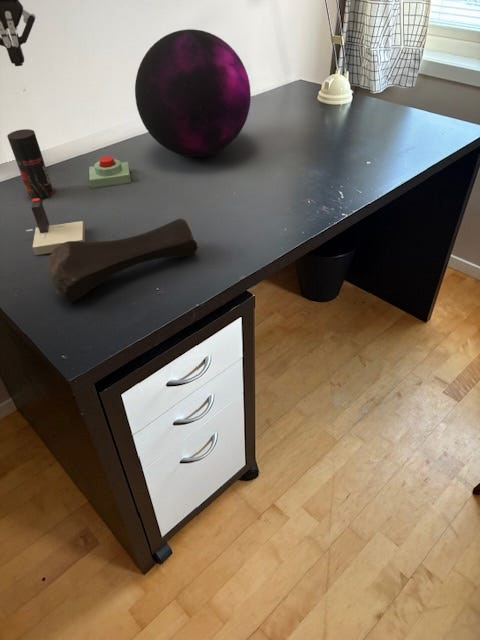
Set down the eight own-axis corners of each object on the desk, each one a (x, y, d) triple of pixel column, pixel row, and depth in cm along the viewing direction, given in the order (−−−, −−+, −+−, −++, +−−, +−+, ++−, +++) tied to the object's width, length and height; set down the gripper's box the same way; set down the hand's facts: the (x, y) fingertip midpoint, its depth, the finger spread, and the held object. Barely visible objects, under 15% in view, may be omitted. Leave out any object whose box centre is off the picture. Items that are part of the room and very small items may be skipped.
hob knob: (48, 232, 101) (38, 205, 97) (40, 233, 101) (30, 206, 97) (49, 223, 104) (40, 197, 100) (41, 224, 103) (32, 198, 99)
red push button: (100, 169, 120) (99, 162, 119) (100, 163, 123) (99, 157, 121) (115, 167, 120) (113, 160, 119) (114, 161, 123) (113, 155, 122)
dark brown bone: (59, 313, 87) (194, 276, 100) (58, 286, 78) (207, 248, 91) (40, 264, 90) (173, 234, 103) (37, 232, 81) (184, 203, 94)
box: (91, 188, 120) (87, 173, 118) (91, 174, 126) (87, 160, 123) (131, 182, 122) (128, 167, 119) (129, 169, 128) (126, 155, 125)
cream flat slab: (26, 256, 98) (22, 248, 97) (30, 230, 106) (27, 221, 104) (84, 247, 100) (82, 239, 98) (85, 222, 108) (82, 213, 106)
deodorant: (54, 197, 117) (35, 136, 107) (29, 202, 116) (7, 140, 106) (52, 187, 122) (33, 127, 111) (28, 191, 120) (6, 132, 110)
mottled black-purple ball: (270, 160, 129) (271, 33, 109) (165, 185, 120) (145, 52, 100) (225, 125, 149) (219, 13, 129) (133, 145, 140) (110, 27, 120)
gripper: (-49, -25, 92) (-14, 72, 104) (21, -30, 94) (48, 66, 106) (-42, -29, 98) (-9, 64, 109) (25, -34, 100) (50, 58, 111)
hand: (19, 65), depth 108 cm, fingers closed
